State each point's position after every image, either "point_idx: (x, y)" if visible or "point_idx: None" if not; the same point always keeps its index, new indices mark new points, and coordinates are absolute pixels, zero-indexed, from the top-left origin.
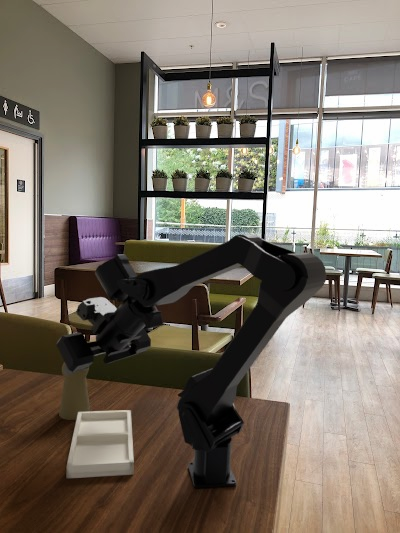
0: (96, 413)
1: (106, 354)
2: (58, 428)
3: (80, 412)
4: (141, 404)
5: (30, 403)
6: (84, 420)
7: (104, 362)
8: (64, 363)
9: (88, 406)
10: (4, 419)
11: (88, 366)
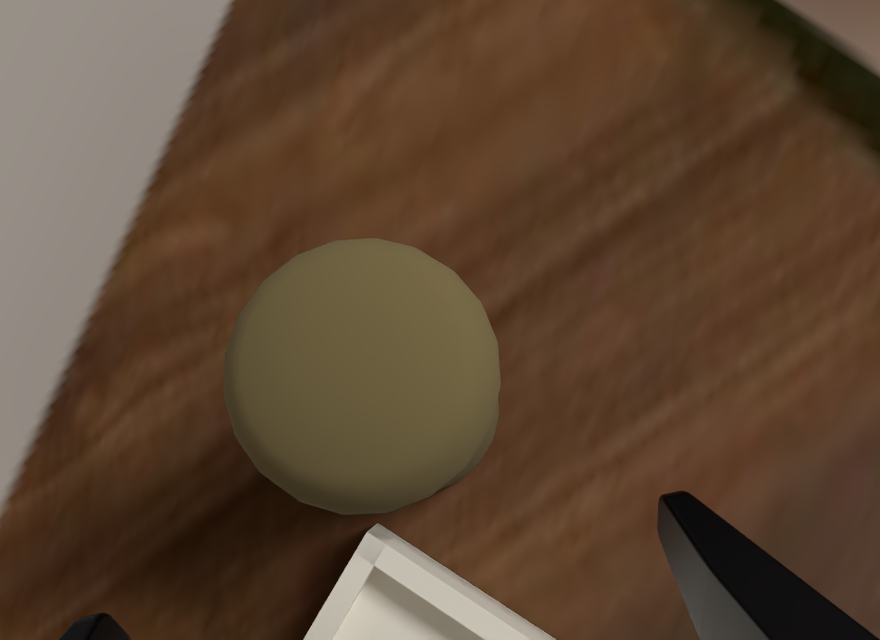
0: (453, 616)
1: (720, 583)
2: (259, 532)
3: (373, 549)
4: (819, 528)
5: (286, 156)
6: (385, 585)
7: (659, 526)
8: (236, 333)
9: (469, 465)
10: (108, 270)
11: (479, 441)
